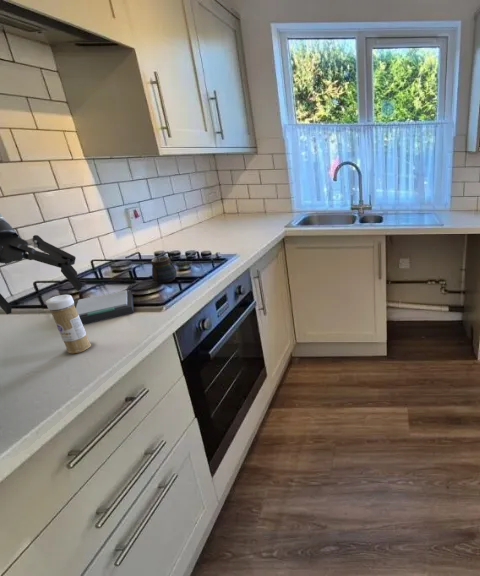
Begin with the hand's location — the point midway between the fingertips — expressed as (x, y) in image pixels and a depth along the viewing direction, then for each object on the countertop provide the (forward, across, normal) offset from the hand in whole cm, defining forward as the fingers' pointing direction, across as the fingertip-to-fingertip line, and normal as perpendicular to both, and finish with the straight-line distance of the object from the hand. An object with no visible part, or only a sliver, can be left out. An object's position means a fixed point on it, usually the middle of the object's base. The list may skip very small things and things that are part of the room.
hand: (46, 298), depth 84 cm
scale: (+1, -14, -16) cm, 21 cm away
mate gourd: (-2, -37, -19) cm, 41 cm away
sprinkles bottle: (+13, 0, -4) cm, 14 cm away
